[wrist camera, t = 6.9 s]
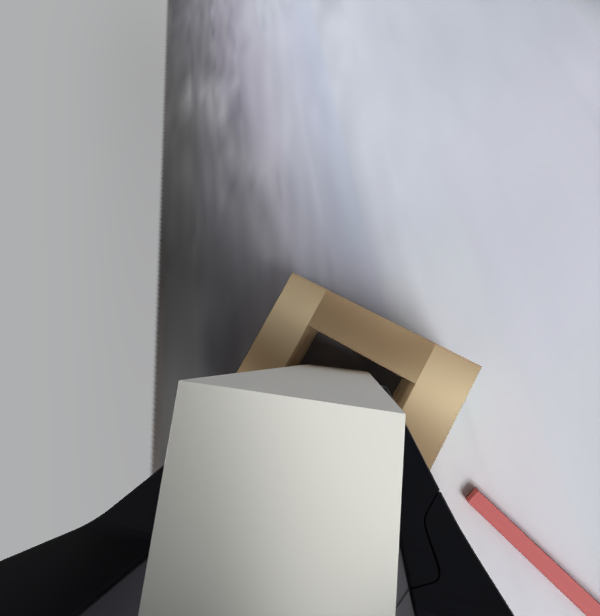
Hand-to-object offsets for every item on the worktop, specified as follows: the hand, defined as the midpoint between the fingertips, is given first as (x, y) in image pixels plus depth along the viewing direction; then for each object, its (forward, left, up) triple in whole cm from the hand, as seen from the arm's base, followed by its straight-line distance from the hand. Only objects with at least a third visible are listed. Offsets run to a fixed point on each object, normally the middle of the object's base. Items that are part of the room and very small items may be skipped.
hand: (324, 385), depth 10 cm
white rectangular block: (-1, 0, -7) cm, 7 cm away
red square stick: (-13, -10, -8) cm, 18 cm away
